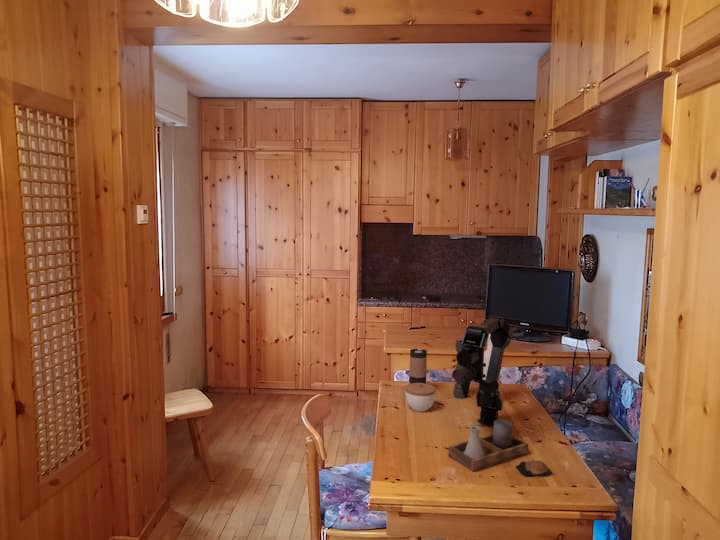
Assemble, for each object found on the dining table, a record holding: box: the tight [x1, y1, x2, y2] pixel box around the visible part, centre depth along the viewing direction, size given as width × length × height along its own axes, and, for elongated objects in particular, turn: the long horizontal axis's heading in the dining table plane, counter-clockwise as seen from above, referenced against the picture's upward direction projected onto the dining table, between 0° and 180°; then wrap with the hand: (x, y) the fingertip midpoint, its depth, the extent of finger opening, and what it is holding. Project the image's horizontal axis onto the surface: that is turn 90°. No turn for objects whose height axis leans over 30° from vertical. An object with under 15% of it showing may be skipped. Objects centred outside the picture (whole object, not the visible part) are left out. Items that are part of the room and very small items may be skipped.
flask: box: [464, 425, 485, 459], centre depth 171 cm, size 7×7×10 cm
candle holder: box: [453, 339, 465, 399], centre depth 229 cm, size 6×6×25 cm
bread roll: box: [515, 460, 555, 478], centre depth 164 cm, size 11×8×4 cm
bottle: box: [483, 334, 501, 385], centre depth 223 cm, size 8×8×30 cm
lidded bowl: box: [404, 383, 436, 413], centre depth 215 cm, size 13×13×11 cm
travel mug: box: [408, 348, 428, 384], centre depth 232 cm, size 8×8×20 cm
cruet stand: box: [448, 418, 529, 473], centre depth 174 cm, size 25×12×10 cm, turn 121°
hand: (474, 401), depth 188 cm, fingers open, 9 cm apart
